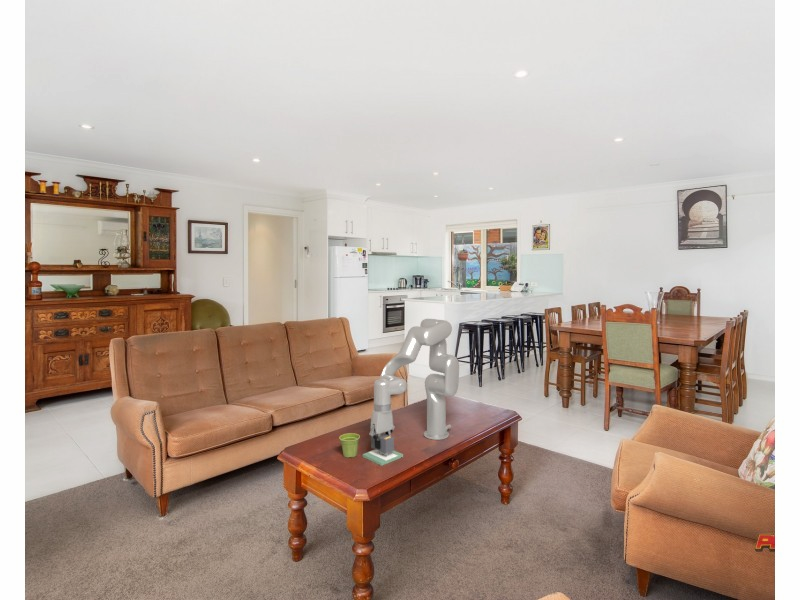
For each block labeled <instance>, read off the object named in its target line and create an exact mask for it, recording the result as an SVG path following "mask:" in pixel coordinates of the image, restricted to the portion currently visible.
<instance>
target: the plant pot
mask: <svg viewBox="0 0 800 600" xmlns="http://www.w3.org/2000/svg"><path fill="white" fill-rule="evenodd" d="M338 438H339V440H340V444H341V449H342V454H343V457H344V458H347V459H348V458H355V457H357V455H358V448H359V446H358V445H359V441H360V438H361V436H360V434H357V433H354V432H353V433H352V432H350V433H349V432H348V433H343V434H341V435H340V436H339V437H338Z"/></svg>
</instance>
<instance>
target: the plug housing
mask: <svg viewBox="0 0 800 600" xmlns="http://www.w3.org/2000/svg"><path fill="white" fill-rule="evenodd" d="M377 435H378V434H377ZM379 440H380V449H377V448H375V439H373V437H372V436H370V448H372V449H373V450H375V449H376V450H378V451H381V452H383V453H385V454H386V453H389V452H391V451H395V437H394V436H392V435H391V436H389V435H386V434H385V432H384V433H381V434H380V439H379Z"/></svg>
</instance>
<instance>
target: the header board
mask: <svg viewBox="0 0 800 600" xmlns="http://www.w3.org/2000/svg"><path fill="white" fill-rule="evenodd" d="M401 457H402V458H403V457H404V454H403V453H401V452H399V451H396V450H394V451H391V452H389V453H386V454H385V453H383V452H381V451H378V450H376V449H372V450H370V451H367V452H365V453H362V458H365V459H366V460H369V461H371V462H372V463H375V464H377V465H379V466H381V467H382V466H385V465H388V464H390V463H392V462H394V461H396V460H399V459H401Z"/></svg>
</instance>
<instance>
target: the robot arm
mask: <svg viewBox="0 0 800 600" xmlns="http://www.w3.org/2000/svg"><path fill="white" fill-rule="evenodd" d="M452 331H453V327H452V324H451V323H450V322H449V321H448V320H444V319H443V320H442V319H435V318H424V319H422V320H421V322H420V326H417V325H416V326H412V327H410V329H409V330H408V332H407V334H406V336H405V338H404V341H403V343H402V344H401V347H400V350H399V352H398V353H397V354H396V355H395V356H393V357H392V358H390V360H389V361H388V362H387V363H386V364H385V365H384V366H383V368H382V371H381V373H380V375H379V377H378V378H379V379H375V380H374V382H373V410H372V411H371V417H370V431H369V434H368V435H369V436H370V437H371V436H372V437H373V439H375V448H377V449H380V440H379V439H380V434H381V433H384V434H386V435H389V436H392V433H393V431H394V429H395V428H396V425H394V424H395V423H394V420H393V419H394V417H393V410H392V407H391V406H392V405H393V404H392V401H391V400H392V399H391V397H392V396H394V395H395V396H396V395H402V394H404V393H405V392H406V391H407V390H408V389H407V388H408V383H407V381H406V379H404V378H402V377H399V376H395V373H396V372H398V370H399V369H400V368H402V367H404V366H406V365H409V364H412V363H414V362H415V361H416V360H417V357H418V355H419V353H420V351H421V348H422V346H426V347H429V355H428V367H429V368H430V370H431V371H433V372H437V373H430V374H428V375H427V376H426V378H425V380H424V388H425V393H426V394H425V395H426V430H425V431H424V432H423V436H424V438H426V439H429V440H433V441H439V440H440V441H441V440H445V439H448V438H449V435H450V433H449V431H448V429H451V428H452V425H451V423H449V424H446V422H447V417H446V416H447V413H446V412H447V411H446V409H447V407H446V406H447V405H446V404H447V401H446V397H454V396H455V395H456V394H457V393H458V389H459V380H460V378H459V375H460V363H459V359H458V358H457V357H456V356H455V355H453V354H448V353H447V347H448V346H447V345H448V344H447V338H449V337H450V335H451V334H452ZM439 373H441V374H439ZM377 434H378V435H377Z"/></svg>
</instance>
